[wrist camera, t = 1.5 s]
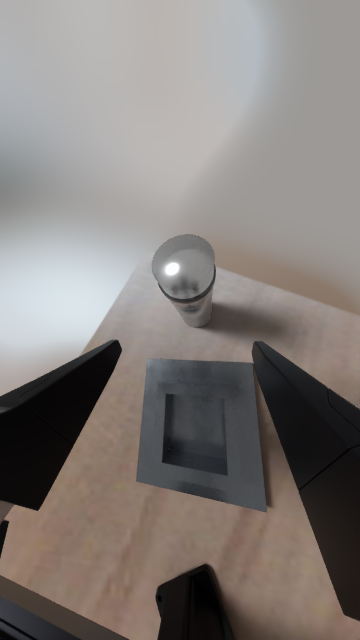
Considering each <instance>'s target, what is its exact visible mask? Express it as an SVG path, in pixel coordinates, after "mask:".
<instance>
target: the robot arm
mask: <svg viewBox="0 0 360 640" xmlns="http://www.w3.org/2000/svg"><path fill="white" fill-rule="evenodd" d="M121 352H122V348H121V346H120V343H119V341H118V340H110V341H108V342H107V343H105V344H103V345H101V346H99V347H97V348H95V349H93V350H91V351H89V352H87V353H85V354H84V355H82V356H80V357H78V358H76V359H74V360H72V361H70V362H68V363H66V364H65V365H62V366H61V367H59V368H57V369H55V370H53V371H51V372H49V373H47V374H45V375H43V376H41V377H39V378H38V379H36V380H33V381H31V382H29V383H27V384H25V385H23V386H21V387H19V388H17V389H15V390H12V391H10V392H8V393H6V394H4V395H2V396H0V557H1V553H2V549H3V544H4V540H5V536H6V532H7V528H8V524H9V521H7V520H5V519H4V518H5V517H6V515H7V514H8V513H9V511H10V510H11V509H12V507H13V506H14V504H15V505H18V506H22V507H25V508H29V509H33V510H36V511H38V510H39V509H40V507H41V506H42V504H43V502H44V500H45V498H46V496H47V495H48V493H49V491H50V489H51V487H52V485H53V483H54V481H55V480H56V478H57V476H58V474H59V472H60V470H61V468H62V466H63V465H64V463H65V461H66V459H67V457H68V455H69V453H70V452H71V450H72V448H73V445H74V444H75V442H76V440H77V438H78V436H79V434H80V433H81V431H82V429H83V427H84V425H85V423H86V421H87V420H88V418H89V416H90V414H91V412H92V410H93V408H94V406H95V405H96V403H97V401H98V399H99V397H100V395H101V393H102V392H103V390H104V388H105V386H106V384H107V382H108V380H109V378H110V377H111V375H112V373H113V371H114V369H115V366H116V364H117V361H118V359H119V357H120V354H121ZM252 357H253V362H254V366H255V370H256V374H257V378H258V382H259V385H260V387H261V390H262V393H263V395H264V398H265V401H266V404H267V406H268V409H269V412H270V415H271V417H272V420H273V423H274V426H275V428H276V431H277V434H278V436H279V439H280V442H281V445H282V447H283V450H284V453H285V456H286V458H287V461H288V464H289V467H290V469H291V472H292V475H293V477H294V480H295V483H296V486H297V488H298V490H299V494H300V497H301V500H302V502H303V505H304V508H305V511H306V513H307V516H308V519H309V522H310V524H311V527H312V530H313V532H314V535H315V538H316V541H317V543H318V546H319V549H320V552H321V554H322V557H323V560H324V563H325V565H326V568H327V571H328V573H329V576H330V579H331V582H332V584H333V587H334V590H335V593H336V595H337V598H338V601H339V603H340V606H341V608H342V611H343V613H344V615H345V616H348V617H350V618H353V619H355V620H357V621H360V409H359V408H357V407H355V406H354V405H353V404H351V403H350V402H348V401H347V400H345V399H344V398H342V397H341V396H339V395H338V394H336V393H335V392H334V391H332V390H331V389H329V388H328V389H327V387H326V386H325V385H324V384H322V383H321V382H319V381H318V380H316V379H315V378H314V377H312V376H311V375H309V374H308V373H307V372H305V371H304V370H302V369H301V368H299V367H298V366H297V365H295V364H294V363H292V362H291V361H289V360H288V359H287V358H285V357H284V356H282V355H281V354H279V353H278V352H277V351H275V350H274V349H272V348H271V347H269V346H268V345H267V344H265V343H264V342H262V341H255V342H254V343H253V349H252ZM204 574H206V575H204ZM160 595H161V596H160ZM156 602H157V606H158V610H159V613H160V617H161V623H160V629H159V634H158V640H235V637H234V635H233V632H232V629H231V627H230V624H229V621H228V619H227V616H226V613H225V611H224V608H223V605H222V603H221V600H220V597H219V595H218V592H217V589H216V587H215V584H214V581H213V579H212V576H211V573H210V571H209V568H208V567H207V566H206V565H202V566H200V567H198V568H196V569H194V570H192V571H190V572H187V573H185V574H183V575H181V576H179V577H177V578H175V579H173V580H171V581H169V582H166V583H164V584H162V585H160V586H159V587H158V588H157V592H156ZM0 640H129V639H127V638H125V637H123V636H121V635H119V634H117V633H115V632H113V631H111V630H109V629H107V628H105V627H103V626H101V625H99V624H97V623H95V622H93V621H91V620H89V619H87V618H85V617H83V616H81V615H79V614H77V613H75V612H73V611H71V610H69V609H67V608H65V607H63V606H61V605H59V604H57V603H55V602H53V601H51V600H49V599H47V598H45V597H43V596H41V595H39V594H37V593H35V592H33V591H31V590H29V589H27V588H25V587H23V586H21V585H19V584H17V583H15V582H13V581H11V580H9V579H7V578H5V577H3V576H1V575H0Z"/></svg>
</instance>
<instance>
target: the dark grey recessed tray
mask: <svg viewBox="0 0 360 640" xmlns="http://www.w3.org/2000/svg"><path fill="white" fill-rule="evenodd" d="M136 481H137V482H141V483H145V484H150V485H154V486H158V487H162V488H166V489H171V490H175V491H179V492H183V493H187V494H192V495H196V496H200V497H204V498H208V499H213V500H217V501H221V502H225V503H229V504H234V505H238V506H242V507H246V508H250V509H255V510H259V511H263V512H267V508H266V498H265V488H264V478H263V467H262V457H261V447H260V437H259V426H258V416H257V406H256V396H255V385H254V375H253V365H252V363H246V362H221V361H196V360H171V359H147V368H146V379H145V390H144V401H143V412H142V423H141V434H140V445H139V456H138V467H137V478H136Z"/></svg>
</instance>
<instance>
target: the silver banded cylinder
mask: <svg viewBox="0 0 360 640" xmlns="http://www.w3.org/2000/svg"><path fill="white" fill-rule="evenodd" d="M214 261H215V257H214V251H213V248H212V246H211V245H210V244H209V243H208V242H207V241H206V240H205V239H203V238H202V237H199V236H196V235H188V234H186V235H180V236H176V237H174V238H171V239H169V240H168V241H166V242H165V243H164V244H162V245H161V246H160V247H159V249H158V250H157V251H156V253H155V255H154V257H153V260H152V272H153V275H154V277H155V279H156V280H157V281H158V284H159V287H160V289H161V290H162V292H163V293H164V295H165V296H166V297H167V298H168V299H170V301H171V302H172V304H173V305H174V307H175V308H176V310H177V311H178V312H179V314H180V315H181V317H182V318H183V320H184V321H185V323H186V324H187V325H189V326H191V327H202V326H204V325H205V324H207V323H208V322H209V320H210V318H211V312H212V295H213V285H214V282H215V275H216V269H215V264H214Z"/></svg>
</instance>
